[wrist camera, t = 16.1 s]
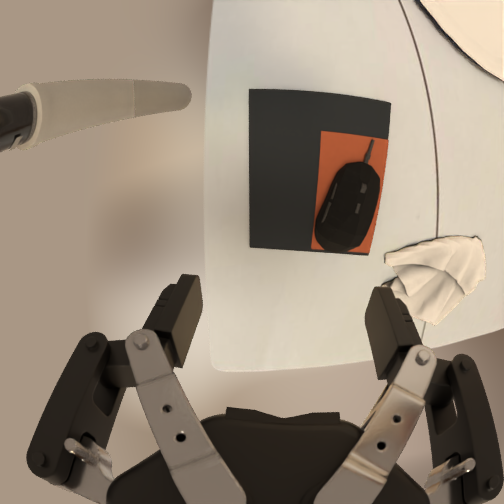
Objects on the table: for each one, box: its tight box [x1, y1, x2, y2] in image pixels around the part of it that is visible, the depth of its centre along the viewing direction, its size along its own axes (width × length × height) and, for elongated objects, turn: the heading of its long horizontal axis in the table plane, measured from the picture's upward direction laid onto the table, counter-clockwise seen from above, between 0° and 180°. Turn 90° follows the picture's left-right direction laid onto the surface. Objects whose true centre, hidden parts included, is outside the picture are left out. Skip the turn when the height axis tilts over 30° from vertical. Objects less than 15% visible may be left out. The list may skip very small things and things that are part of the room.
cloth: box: [382, 236, 486, 326], centre depth 34 cm, size 20×22×2 cm
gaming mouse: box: [314, 139, 380, 253], centre depth 29 cm, size 6×15×4 cm, turn 166°
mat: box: [249, 89, 391, 256], centre depth 30 cm, size 16×20×1 cm
